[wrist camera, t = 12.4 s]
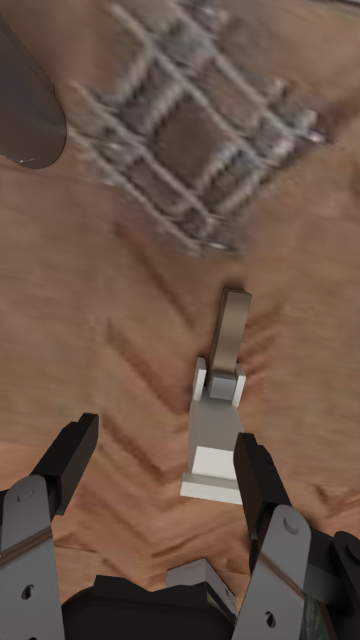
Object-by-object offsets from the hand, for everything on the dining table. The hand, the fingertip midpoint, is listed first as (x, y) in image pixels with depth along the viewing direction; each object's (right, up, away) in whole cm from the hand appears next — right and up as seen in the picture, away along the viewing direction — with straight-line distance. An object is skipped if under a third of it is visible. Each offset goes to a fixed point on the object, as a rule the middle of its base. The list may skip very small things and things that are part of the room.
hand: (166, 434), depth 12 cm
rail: (+7, +4, +20) cm, 22 cm away
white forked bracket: (+6, -5, +23) cm, 24 cm away
